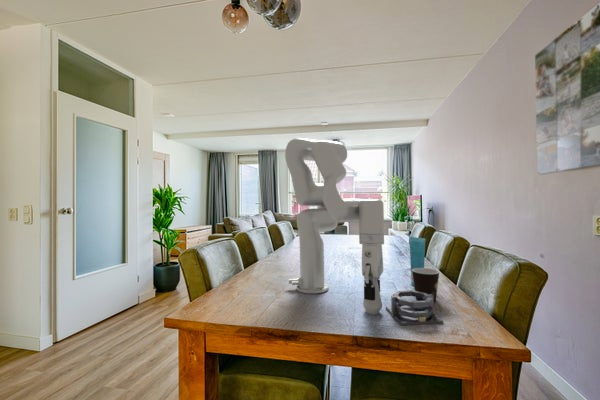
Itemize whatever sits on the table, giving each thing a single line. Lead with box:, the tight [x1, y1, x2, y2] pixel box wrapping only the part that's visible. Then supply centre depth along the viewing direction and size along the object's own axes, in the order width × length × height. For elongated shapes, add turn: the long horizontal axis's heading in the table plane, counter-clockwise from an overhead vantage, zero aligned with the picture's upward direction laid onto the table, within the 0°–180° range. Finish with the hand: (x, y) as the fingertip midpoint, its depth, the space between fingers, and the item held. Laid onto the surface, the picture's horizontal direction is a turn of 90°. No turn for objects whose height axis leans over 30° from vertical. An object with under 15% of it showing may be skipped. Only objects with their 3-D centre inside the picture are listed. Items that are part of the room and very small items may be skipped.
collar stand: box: [385, 290, 444, 326], centre depth 86 cm, size 13×12×6 cm
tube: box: [408, 236, 427, 286], centre depth 116 cm, size 7×5×19 cm, turn 39°
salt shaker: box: [362, 275, 383, 316], centre depth 89 cm, size 6×6×13 cm
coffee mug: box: [412, 267, 440, 303], centre depth 100 cm, size 12×9×10 cm
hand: (372, 295), depth 89 cm, fingers open, 7 cm apart
